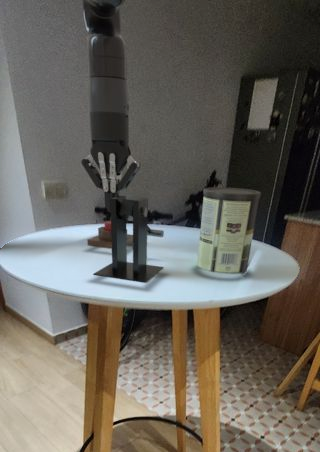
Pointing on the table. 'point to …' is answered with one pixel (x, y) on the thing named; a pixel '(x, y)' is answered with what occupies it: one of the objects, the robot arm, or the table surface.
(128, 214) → the lever
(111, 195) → the robot arm
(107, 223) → the button
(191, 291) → the table surface
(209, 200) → the coffee can
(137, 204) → the bracket
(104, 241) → the block
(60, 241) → the table surface
